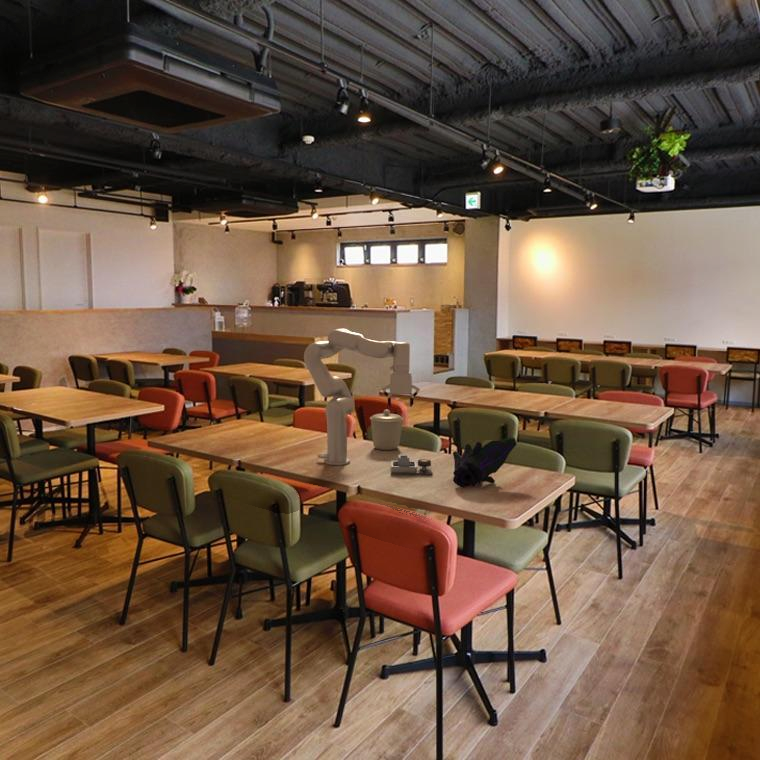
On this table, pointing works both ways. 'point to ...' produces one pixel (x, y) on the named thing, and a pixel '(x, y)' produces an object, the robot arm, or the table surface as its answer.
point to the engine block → (403, 460)
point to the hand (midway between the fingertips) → (400, 406)
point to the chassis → (410, 469)
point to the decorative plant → (481, 461)
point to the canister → (386, 430)
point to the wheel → (424, 462)
